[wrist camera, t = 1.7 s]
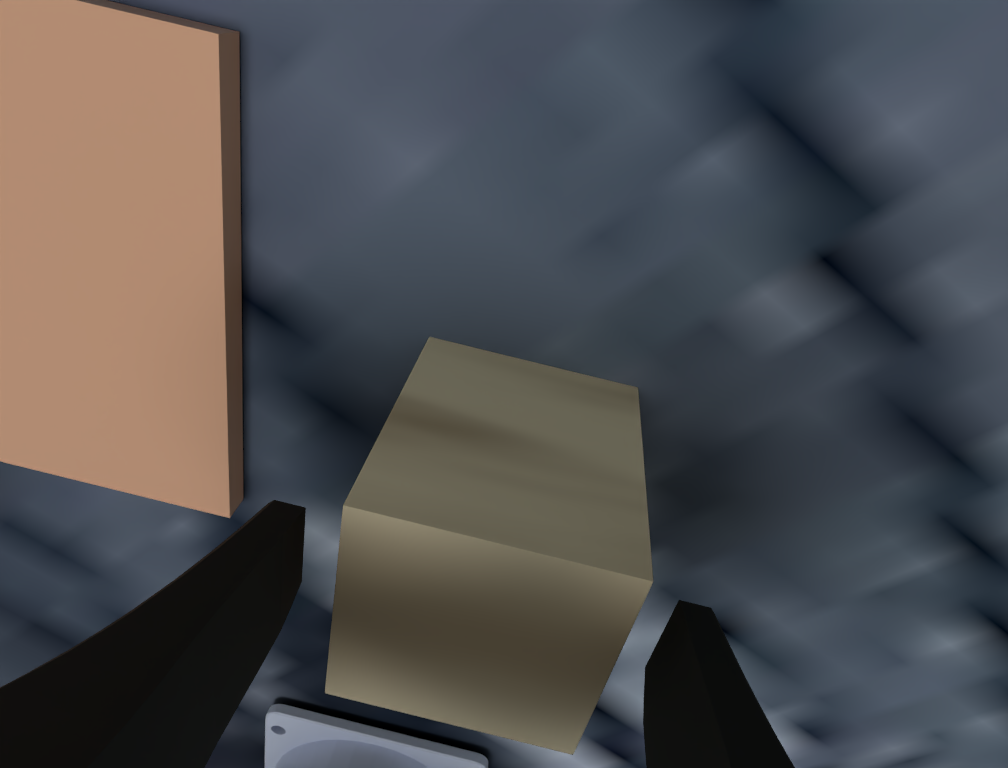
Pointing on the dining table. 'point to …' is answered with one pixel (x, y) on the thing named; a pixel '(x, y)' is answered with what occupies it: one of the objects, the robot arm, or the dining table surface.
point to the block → (493, 548)
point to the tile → (121, 250)
